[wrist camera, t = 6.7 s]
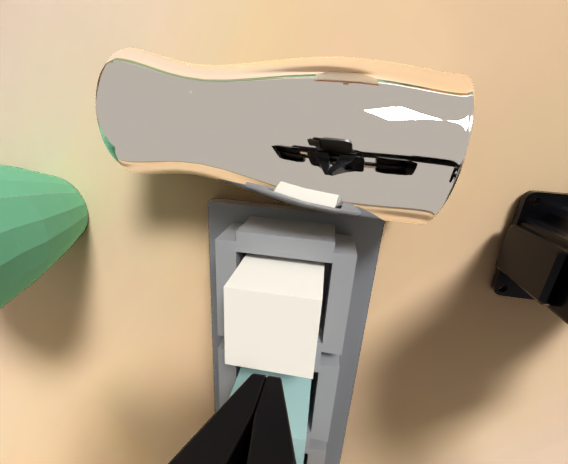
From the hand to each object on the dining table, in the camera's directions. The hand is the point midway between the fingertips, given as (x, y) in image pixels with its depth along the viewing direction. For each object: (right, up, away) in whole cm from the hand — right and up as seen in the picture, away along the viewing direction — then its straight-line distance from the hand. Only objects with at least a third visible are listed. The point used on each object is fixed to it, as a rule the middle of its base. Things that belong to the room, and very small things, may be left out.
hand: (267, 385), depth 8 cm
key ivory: (+1, +1, +10) cm, 10 cm away
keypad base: (0, -5, +15) cm, 15 cm away
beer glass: (-7, +11, +7) cm, 15 cm away
